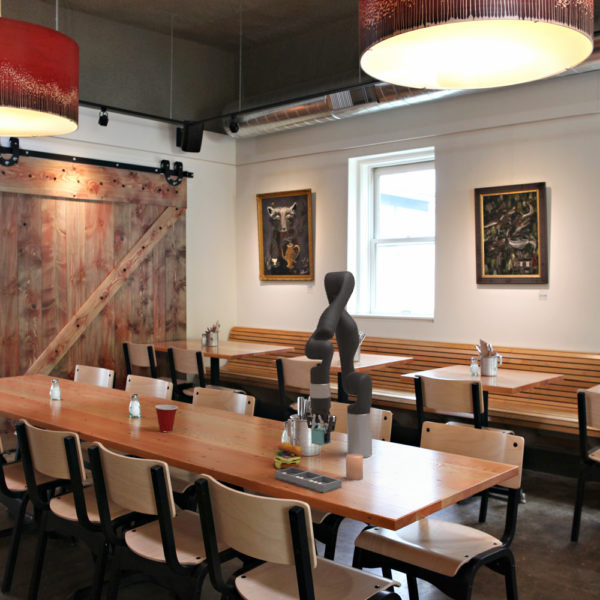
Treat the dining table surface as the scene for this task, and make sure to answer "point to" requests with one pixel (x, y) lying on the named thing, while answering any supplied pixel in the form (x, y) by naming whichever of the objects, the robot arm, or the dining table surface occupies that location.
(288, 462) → the cheeseburger
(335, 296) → the robot arm
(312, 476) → the slot tray
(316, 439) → the teal block
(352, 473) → the terracotta jar
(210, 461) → the dining table surface
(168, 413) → the plastic cup
